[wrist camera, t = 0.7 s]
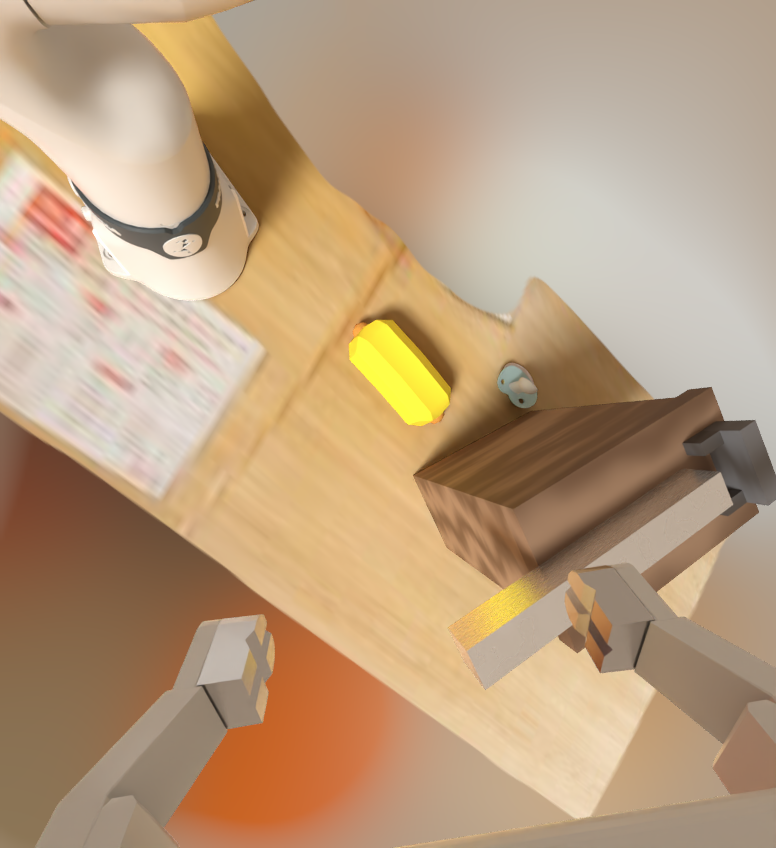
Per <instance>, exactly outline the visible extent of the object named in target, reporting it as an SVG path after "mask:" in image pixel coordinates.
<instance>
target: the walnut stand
mask: <svg viewBox="0 0 776 848" xmlns="http://www.w3.org/2000/svg"><path fill="white" fill-rule="evenodd" d="M682 468H683V469H694V470H705V471H717V472H721V474H722V477H723V479H724V482H725V485H726V487H727V490H728V492H729V495H730V498H731V500H732V503H733V505H732V506H731V507H730V508H728V509H727V510H725V511H724V512H723V513H721V514H720V515H719V516H717V517H716V518H715V519H713V520H712V521H711V522H709V523H708V524H707V525H705V526H704V527H703V528H701V529H700V530H699V531H697V532H696V533H695V534H693V535H692V536H691V537H689V538H688V539H687V540H685V541H684V542H683V543H681V544H680V545H679V546H677V547H676V548H675V549H673V550H672V551H671V552H669V553H668V554H667V555H665V556H664V557H663V558H661V559H660V560H659V561H657V562H656V563H655V564H653V565H652V566H651V567H649V568H648V569H647V570H645V571H644V572H643V573H641V575H642V576H643V577H644V579H645V580H646V581H647V582H648V583H649V584H650V586H651V587H652V588H653V589H654V590H655V591H656V592H657V591H658V590H660V589H661V588H662V587H663V586H665V585H666V584H667V583H669V582H670V581H671V580H673V579H674V578H675V577H676V576H678V575H679V574H680V573H682V572H683V571H684V570H685V569H687V568H688V567H689V566H691V565H692V564H693V563H694V562H696V561H697V560H698V559H700V558H701V557H702V556H703V555H705V554H706V553H707V552H709V551H710V550H711V549H712V548H714V547H715V546H716V545H718V544H719V543H720V542H721V541H723V540H724V539H725V538H727V537H728V536H729V535H731V534H732V533H733V532H734V531H735V530H737V529H738V528H740V527H741V526H742V525H743V524H745V523H746V522H747V521H749V520H750V519H751V518H752V517H754V516H755V515H756V514H758V513H759V511H758V508H757V505H756V504H761V505H770V504H771V503H772V502H773V501H775V500H776V475H775V472H774V470H773V466H772V464H771V461H770V459H769V456H768V453H767V450H766V448H765V445H764V442H763V440H762V437H761V434H760V431H759V429H758V426H757V424H756V421H755V420H746V421H724V419H723V416H722V414H721V411H720V408H719V406H718V403H717V400H716V398H715V395H714V393H713V390H712V387H708V388H699V389H691V390H687V391H686V392H684V393H682V394H681V395H679V396H677V397H676V398H666V399H655V400H644V401H634V402H623V403H612V404H602V405H591V406H581V407H570V408H559V409H549V410H538V411H530V412H529V413H527V414H525V415H523V416H521V417H519V418H518V419H516V420H514V421H512V422H510V423H508V424H507V425H505V426H503V427H501V428H499V429H497V430H496V431H494V432H492V433H490V434H488V435H486V436H484V437H483V438H481V439H479V440H477V441H475V442H473V443H472V444H470V445H468V446H466V447H464V448H462V449H461V450H459V451H457V452H455V453H453V454H451V455H450V456H448V457H446V458H444V459H442V460H440V461H439V462H437V463H435V464H433V465H431V466H429V467H427V468H426V469H424V470H422V471H420V472H418V473H416V474H415V475H413V476H414V479H415V481H416V483H417V485H418V487H419V489H420V491H421V494H422V496H423V498H424V500H425V502H426V504H427V506H428V508H429V511H430V513H431V515H432V517H433V519H434V521H435V523H436V526H437V528H438V530H439V532H440V534H441V536H442V538H443V540H444V543H445V545H446V547H447V548H448V549H449V550H451V551H452V552H453V553H455V554H456V555H458V556H459V557H460V558H462V559H463V560H464V561H466V562H467V563H469V564H470V565H471V566H473V567H474V568H475V569H477V570H478V571H480V572H481V573H482V574H484V575H485V576H486V577H488V578H489V579H491V580H492V581H493V582H495V583H496V584H497V585H499V586H500V587H502V588H503V589H505V588H507V587H508V586H510V585H511V584H513V583H514V582H516V581H517V580H519V579H520V578H522V577H523V576H524V575H526V574H527V573H529V572H530V571H532V570H533V569H535V568H536V567H538V566H539V565H541V564H542V563H544V562H545V561H547V560H548V559H550V558H551V557H553V556H554V555H556V554H557V553H558V552H560V551H561V550H563V549H564V548H566V547H567V546H569V545H570V544H572V543H573V542H575V541H576V540H578V539H579V538H581V537H582V536H584V535H585V534H587V533H588V532H589V531H591V530H592V529H594V528H595V527H597V526H598V525H600V524H601V523H603V522H604V521H606V520H607V519H609V518H610V517H612V516H613V515H615V514H616V513H618V512H619V511H620V510H622V509H623V508H625V507H626V506H628V505H629V504H631V503H632V502H634V501H635V500H637V499H638V498H640V497H641V496H643V495H644V494H646V493H647V492H649V491H650V490H651V489H653V488H654V487H656V486H657V485H659V484H660V483H662V482H663V481H665V480H666V479H668V478H669V477H671V476H672V475H674V474H675V473H677V472H678V471H680V470H681V469H682ZM558 637H559V639H560V640H561V641H562V642H563V643H565V644H566V645H567V646H568V647H570V648H571V649H572V650H574V651H575V652H576V653H578V652H580V651H581V650H582V649H584V648H585V641H586V637H585V636H583V635H582V634H581V633H579V632H578V631H576V630H575V628H574V627H573V625H572V626H570V627H569V628H568V629H566V630H565V631H564V632H562V633H561V634H560V635H558Z"/></svg>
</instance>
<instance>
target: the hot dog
mask: <svg viewBox="0 0 776 848" xmlns="http://www.w3.org/2000/svg"><path fill="white" fill-rule="evenodd" d="M353 334H354V338H353V340H352V341H351V342H350V343H349V356H350V361H351V362H352V363H353V364H354V365H355V366H356V367H357V368H358V369H359V370H360V371H361V372H362V374H363V375H364V376H365V377H366V378H367V379H368V380H369V381H370V382H371V383H372V384H373V385H374V386H375V387H376V389H377V390H378V391H379V392H380V393H381V394H382V395H383V396H384V398H385V399H386V400H387V401H388V402H389V403H390V404H391V406H392V407H393V408H394V409H395V410H396V411H397V413H398V414H399V415H400V416H401V417H402V418H403V420H404V421H405V422H406V423H407V424H408V425H417V426H423V425H425V424H427V423H429V422H431V423H433V424H435V423H437V422H440V421H441V420H442V418H443V416H444V410H445V409H446V408H447V407H448V405H449V404H450V394H451V388H450V387H449V385H448V384H447V383H446V382H445V380H444V379H443V378H442V377H441V375H440V374H439V373H438V372H437V370H436V369H435V368H434V367H433V365H432V364H431V363H430V362H429V360H428V359H427V358H426V357H425V355H424V354H423V353H422V352H421V351H420V350H419V349H418V348H417V346H416V345H415V344H414V343H413V342H412V341H411V340H410V339H409V338H408V337H407V335H406V334H405V333H404V332H403V331H402V330H401V329H400V328H399V327H398V326H397V324H396V323H395V322H394V321H393V320H375V321H373V322H372V323H370V324H367V323H365V322H362V323H359V324H356V325H355V328H354V330H353Z"/></svg>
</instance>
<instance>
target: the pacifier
mask: <svg viewBox="0 0 776 848" xmlns="http://www.w3.org/2000/svg"><path fill="white" fill-rule="evenodd" d="M502 379H503V383H502V384H503V385H502V384H501V380H502ZM497 383H498V388H499V389H500V391H501V392H503V393H506V394H508V396H509V399H510V401H511V402H512V403H513V404H514V405H515V406H517V407H520V408H529V407H531V406H533V405H534V404H535V403H536V400H537V391H538V389H537V387H536V386H535V385H534V382H533V379H532V377H531V375H530V374H529V372H528V371H527V370H526V369H525V368H524V367H522V366H521V365H519V364H516V363H508V364H506V365H505V366H504V368H503V370H502V371H501V373H500V374H499V377H498V381H497ZM519 399H522V400H523V404H521V403H520V402H519Z"/></svg>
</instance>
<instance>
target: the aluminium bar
mask: <svg viewBox="0 0 776 848" xmlns="http://www.w3.org/2000/svg"><path fill="white" fill-rule="evenodd" d="M732 505H733V503H732V500H731V498H730V495H729V492H728V490H727V487H726V485H725V482H724V479H723V477H722V474H721V472H717V471H705V470H694V469H683V468H682V469H681V470H680V471H678V472H677V473H675V474H674V475H672V476H671V477H669V478H668V479H666V480H665V481H663V482H662V483H660V484H659V485H657V486H656V487H654V488H653V489H651V490H650V491H649V492H647V493H646V494H644V495H643V496H641V497H640V498H638V499H637V500H635V501H634V502H632V503H631V504H629V505H628V506H626V507H625V508H623V509H622V510H620V511H619V512H618V513H616V514H615V515H613V516H612V517H610V518H609V519H607V520H606V521H604V522H603V523H601V524H600V525H598V526H597V527H595V528H594V529H592V530H591V531H589V532H588V533H587V534H585V535H584V536H582V537H581V538H579V539H578V540H576V541H575V542H573V543H572V544H570V545H569V546H567V547H566V548H564V549H563V550H561V551H560V552H558V553H557V554H556V555H554V556H553V557H551V558H550V559H548V560H547V561H545V562H544V563H542V564H541V565H539V566H538V567H536V568H535V569H533V570H532V571H530V572H529V573H527V574H526V575H524V576H523V577H522V578H520V579H519V580H517V581H516V582H514V583H513V584H511V585H510V586H508V587H507V588H505V589H504V590H502V591H501V592H499V593H498V594H496V595H495V596H493V597H492V598H491V599H489V600H488V601H486V602H485V603H483V604H482V605H480V606H479V607H477V608H476V609H474V610H473V611H471V612H470V613H468V614H467V615H465V616H464V617H462V618H461V619H460V620H458V621H457V622H455V623H454V624H452V625H451V626H449V627H448V629H449V632H450V634H451V636H452V638H453V640H454V642H455V644H456V646H457V648H458V650H459V652H460V655H461V657H462V659H463V661H464V663H465V664H466V665H467V667H468V668H469V669H470V671H471V672H472V673H473V675H474V676H475V677H476V679H477V680H478V681H479V683H480V684H481V685H482V686H483V688H484V689H485V690H486V689H488V688H489V687H490V686H492V685H493V684H494V683H496V682H497V681H498V680H500V679H501V678H502V677H504V676H505V675H506V674H508V673H509V672H510V671H512V670H513V669H514V668H516V667H517V666H518V665H520V664H521V663H522V662H524V661H525V660H526V659H528V658H529V657H530V656H532V655H533V654H534V653H536V652H537V651H538V650H540V649H541V648H542V647H544V646H545V645H546V644H548V643H549V642H550V641H552V640H553V639H554V638H556V637H557V636H558V635H560V634H561V633H562V632H564V631H565V630H566V629H568V628H569V627H570V626H572V623H571V621H570V619H569V616H568V614H567V611H566V606H565V592H566V591H567V590H568V589H569V588H570V587H571V585H570V584H569V582H568V581H567V580H568V574H569V573H570V572H571V570H578V569H584V568H590V567H597V566H603V565H607V566H608V565H614V564H620V563H630V564H631V565H633V566H634V567H635V568H636V569H637V571H638V572H639V573H640V574H641V573H643V572H644V571H645V570H647V569H648V568H649V567H651V566H652V565H653V564H655V563H656V562H657V561H659V560H660V559H661V558H663V557H664V556H665V555H667V554H668V553H669V552H671V551H672V550H673V549H675V548H676V547H677V546H679V545H680V544H681V543H683V542H684V541H685V540H687V539H688V538H689V537H691V536H692V535H693V534H695V533H696V532H697V531H699V530H700V529H701V528H703V527H704V526H705V525H707V524H708V523H709V522H711V521H712V520H713V519H715V518H716V517H717V516H719V515H720V514H721V513H723V512H724V511H725V510H727V509H728V508H730V507H731V506H732Z"/></svg>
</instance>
